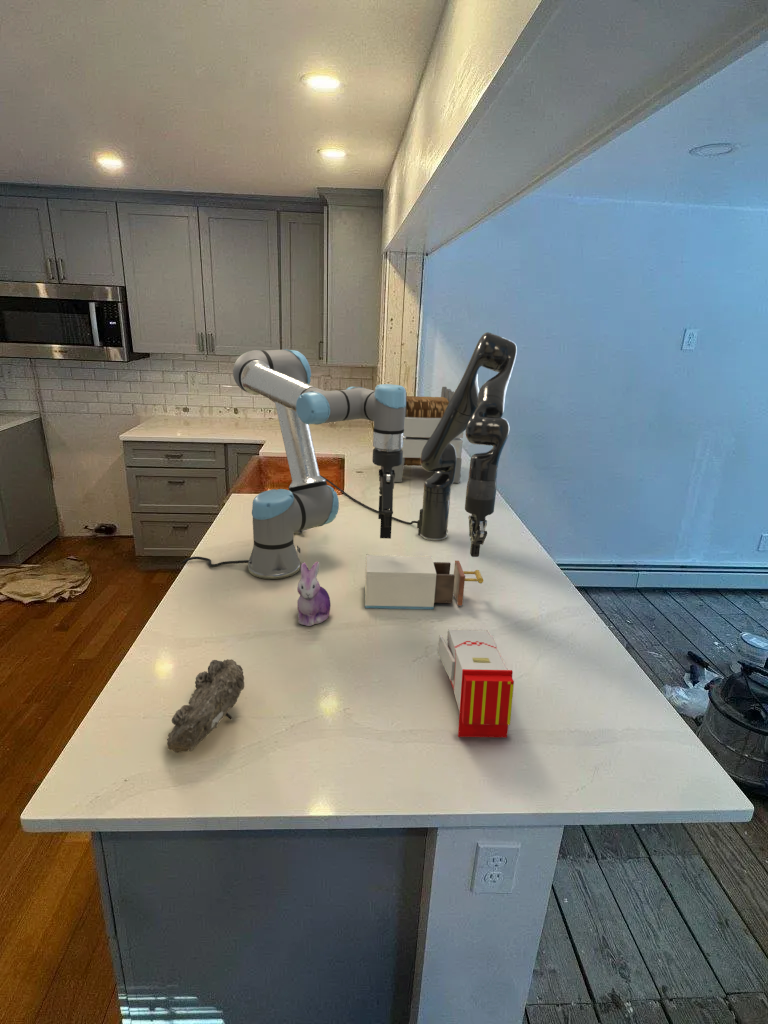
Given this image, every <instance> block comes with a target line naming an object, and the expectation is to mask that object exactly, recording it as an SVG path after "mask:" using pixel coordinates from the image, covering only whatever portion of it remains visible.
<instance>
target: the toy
mask: <svg viewBox="0 0 768 1024" xmlns="http://www.w3.org/2000/svg"><path fill="white" fill-rule="evenodd" d="M446 640H447V643H446V641H445V639H444V636H443V635H442V634H439V637H438V646H437V656H438V657H439V659H440V661H441V663H442V666H443V668H444V670H445V672H446V674H447V677H448V679H449V681H450V684H451V687H452V690H453V693H454V697H455V701H456V705H457V708H458V711H459V714H458V715H459V716H458V730H457V731H458V732H457V737H458V738H508V731H509V726H510V725H511V717H512V707H513V697H514V696H513V695H514V684H515V680H514V679H513V673H514V671H513V670H512V669H508V667H507V665H506V662H505V661H504V659H503V658H502V655H501V653H500V651H499V649H498V647H497V643H496V639H495V637H494V635H493V634H491V632H490V631H489V629H467V628H466V629H465V628H463V629H461V628H460V629H459V628H448V630H447V639H446Z"/></svg>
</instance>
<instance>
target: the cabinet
mask: <svg viewBox="0 0 768 1024" xmlns="http://www.w3.org/2000/svg"><path fill="white" fill-rule="evenodd" d="M433 562H434V560H433V556H432V555H408V554H407V555H405V554H368V553H367V554H365V570H364V571H365V573H364V575H365V576H364V578H365V580H364V608H365V609H390V610H399V609H400V610H434V609H435V602H434V598H435V586H436V570H435V567H434V563H433Z"/></svg>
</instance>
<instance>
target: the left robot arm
mask: <svg viewBox="0 0 768 1024" xmlns="http://www.w3.org/2000/svg"><path fill="white" fill-rule="evenodd" d="M311 369H312V368H311V366H310V363H309V360H308V359H307V358H306V356H305V355H304V354H303V353H301V352H300V351H298V350H294V349H287V348H284V349H263V350H262V349H261V350H260V349H257V350H256V349H254V350H249V351H246V352H244V353H242V354H240V356H238V358H237V359H236V360H235V362H234V365H233V368H232V376H233V380H234V382H235V383H236V386H238V387H239V388H240V389H241V390H242V391H244V392H246V393H248V394H249V395H252V396H253V395H254V396H258V395H261V396H263V397H265V398H267V399H268V400H270V401H271V402H272V403H274V404H275V409H276V414H277V418H278V419H277V420H278V423H279V428H280V431H281V436H282V441H283V445H284V450H285V455H286V459H287V464H288V468H289V469H288V470H289V473H290V478H291V482H290V484H289V486H288V489H287V488H286V489H285V488H278V489H275V488H273V489H268V490H264V491H261V492H259V493H258V494H256V495H255V497H254V499H253V500H252V507H251V515H252V535H253V536H252V537H253V546H252V550H251V552H250V556H249V559H244V560H243V559H242V560H241V559H240V560H227V561H220V562H216V563H212V560H211V559H210V558H208V557H204V556H189V557H187V558H185V559H184V560H182V561H181V564H186V563H187V562H190V561H195V560H199V561H205V562H207V565H208V567H211V568H217V567H220V566H224V565H235V564H236V565H237V564H247V567H248V568H247V571H248V573H249V574H250V575H252V576H254V577H256V578H259V579H264V580H280V579H282V580H283V579H286V578H290V577H292V576H294V575H296V574H297V573H298V572H299V571H301V560H300V557H299V555H298V553H299V554H301V547H300V546H299V545H295V533H297V532H300V531H302V532H303V531H306V530H309V529H313V528H317V527H318V528H319V527H323V526H324V525H327V524H330V523H332V522H333V521H334V520H335V519H336V517H337V515H338V513H339V507H340V502H339V496H338V493H337V491H335V489H334V487H333V486H332V485H328V481H326V479H327V478H326V479H324V478H325V477H324V476H323V477H324V478H323V477H321V476H322V475H321V473H320V469H319V465H318V460H317V455H316V450H315V445H314V441H313V436H312V432H311V427H310V425H323V424H328V423H336V422H345V421H353V420H365V421H366V420H367V421H371V422H373V431H372V447H373V449H372V464H373V465H375V466H378V467H380V469H378V479H379V480H378V481H379V487H378V490H379V491H378V492H379V495H378V511H379V513H378V516H377V519H378V520H380V527H379V528H380V529H379V539H389V540H390V539H392V526H393V525H392V524H393V519H392V517H393V515H394V510H393V507H394V488H395V482H394V479H395V473H394V470H392V467H394V466H400V465H401V464H402V460H403V451H402V449H401V448H403V440H405V439H406V436H403V435H404V422H405V408H406V393H407V390H406V388H405V387H404V386H403V385H400V384H393V383H381V384H376V386H375V387H374V389H370V388H365V387H363V386H348V387H347V388H345V389H339V390H338V389H336V390H323V389H321V388H318V387H316V386H314V385H312V384H311V378H312V371H311ZM320 475H321V476H320Z"/></svg>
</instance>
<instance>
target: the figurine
mask: <svg viewBox="0 0 768 1024" xmlns="http://www.w3.org/2000/svg"><path fill="white" fill-rule="evenodd" d="M319 569H320V562H319V561H315V562H314V563H313V564H312V565H311V568H310V569H309V567H308V565H307V563H306V562H302V563H300V579H299V581H298V584H297V593H298V594H299V597H298V599H297V612H298V613H297V618H298V621H297V622H298V624H299V625H302V626H303V625H304V626H307V627H310V626H315V625H317V624H319V625H320V624H321V623H323V622H324V621H326V620H328V618H329V617H330V613H331V598H330V595H329V593H328V591H327V589H325V588H324V587H322V586H321V584H320V582H319V580H318V578H317V576H318V574H319V571H320V570H319Z"/></svg>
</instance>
